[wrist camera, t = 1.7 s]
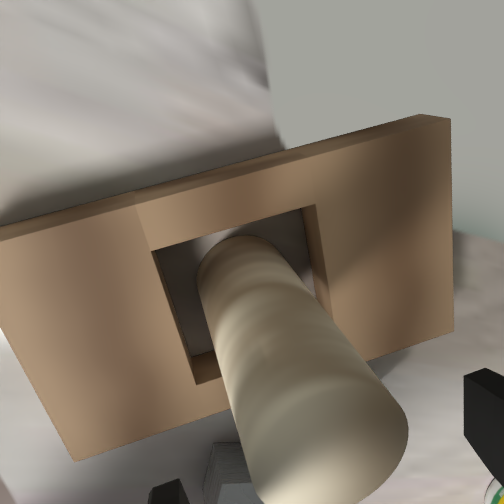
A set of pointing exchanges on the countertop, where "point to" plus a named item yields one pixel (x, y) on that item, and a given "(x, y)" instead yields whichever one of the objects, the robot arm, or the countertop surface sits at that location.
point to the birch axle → (295, 382)
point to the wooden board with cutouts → (207, 222)
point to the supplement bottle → (494, 493)
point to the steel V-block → (228, 477)
